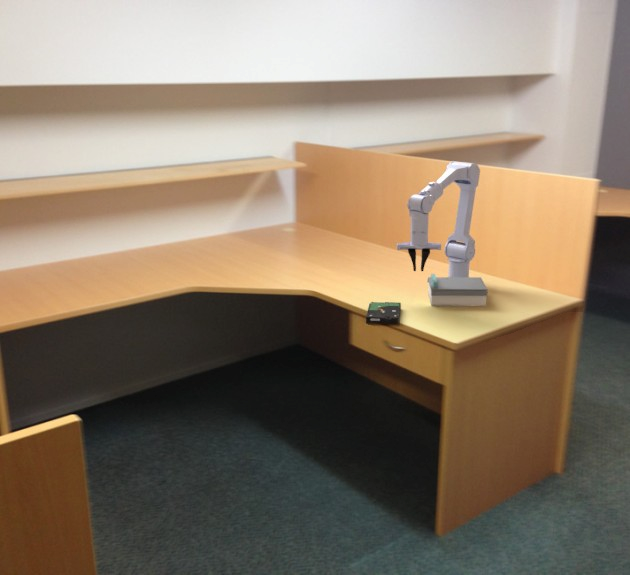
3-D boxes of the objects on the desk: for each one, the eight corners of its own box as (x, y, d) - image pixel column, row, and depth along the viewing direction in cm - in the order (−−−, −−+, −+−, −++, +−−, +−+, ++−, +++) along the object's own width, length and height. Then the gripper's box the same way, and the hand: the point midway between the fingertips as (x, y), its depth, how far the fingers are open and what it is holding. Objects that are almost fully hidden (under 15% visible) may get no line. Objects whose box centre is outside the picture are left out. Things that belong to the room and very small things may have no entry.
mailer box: (428, 293, 242) (428, 280, 240) (479, 293, 241) (480, 280, 239) (431, 305, 230) (431, 291, 228) (485, 306, 229) (486, 291, 227)
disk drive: (399, 326, 214) (400, 309, 228) (399, 318, 213) (400, 301, 227) (365, 325, 216) (369, 308, 230) (365, 316, 215) (369, 300, 229)
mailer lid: (427, 282, 242) (427, 271, 241) (480, 282, 240) (481, 271, 239) (431, 295, 228) (431, 284, 227) (487, 295, 227) (488, 284, 225)
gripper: (397, 233, 226) (397, 273, 230) (442, 233, 225) (441, 273, 229) (396, 229, 232) (396, 267, 236) (440, 228, 231) (439, 267, 235)
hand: (418, 270), depth 233 cm, fingers closed
